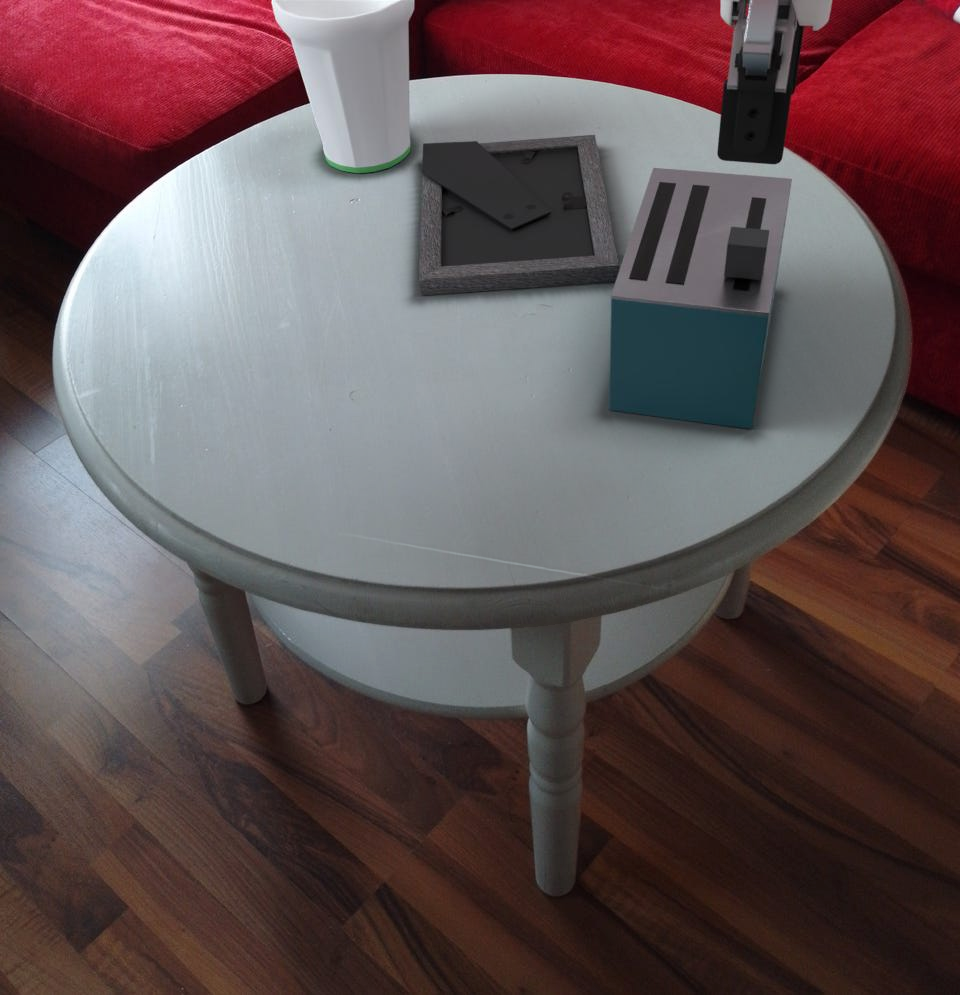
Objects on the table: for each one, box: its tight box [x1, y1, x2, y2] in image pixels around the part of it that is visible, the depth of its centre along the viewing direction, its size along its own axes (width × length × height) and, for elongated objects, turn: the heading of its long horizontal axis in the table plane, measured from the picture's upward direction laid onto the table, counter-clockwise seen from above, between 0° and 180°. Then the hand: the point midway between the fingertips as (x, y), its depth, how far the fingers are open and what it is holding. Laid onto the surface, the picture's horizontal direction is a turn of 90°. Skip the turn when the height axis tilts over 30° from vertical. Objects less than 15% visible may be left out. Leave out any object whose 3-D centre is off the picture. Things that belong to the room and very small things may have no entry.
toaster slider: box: [724, 227, 769, 280], centre depth 70 cm, size 2×2×2 cm
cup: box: [271, 0, 415, 174], centre depth 100 cm, size 12×12×15 cm
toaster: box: [608, 167, 793, 430], centre depth 78 cm, size 10×16×10 cm, turn 164°
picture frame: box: [418, 134, 620, 296], centre depth 95 cm, size 16×2×21 cm
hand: (757, 122), depth 57 cm, fingers open, 6 cm apart
